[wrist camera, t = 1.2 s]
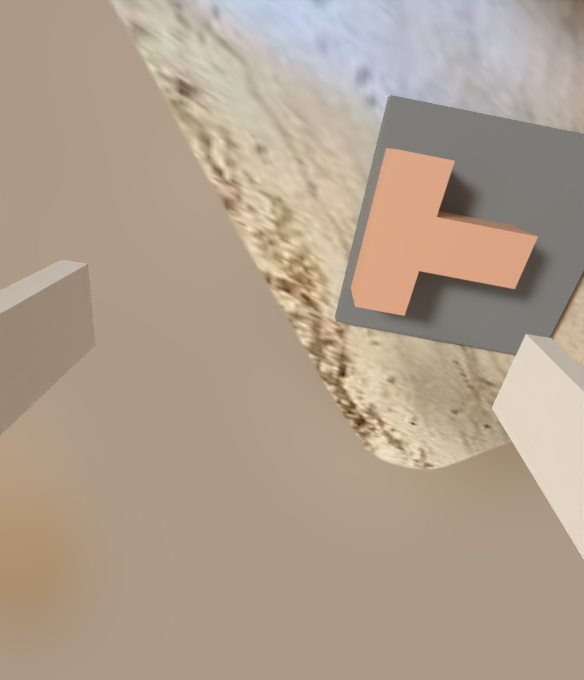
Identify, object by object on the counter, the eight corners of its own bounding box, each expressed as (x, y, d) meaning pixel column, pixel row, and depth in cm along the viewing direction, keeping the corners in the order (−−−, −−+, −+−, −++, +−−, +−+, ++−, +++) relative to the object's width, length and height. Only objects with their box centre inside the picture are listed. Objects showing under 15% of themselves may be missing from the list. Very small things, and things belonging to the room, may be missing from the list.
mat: (388, 97, 27) (391, 95, 26) (634, 146, 28) (646, 146, 27) (335, 315, 34) (335, 321, 33) (531, 352, 35) (538, 358, 34)
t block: (386, 148, 27) (396, 149, 24) (530, 176, 28) (562, 181, 24) (350, 288, 32) (355, 306, 28) (475, 311, 32) (495, 332, 28)
